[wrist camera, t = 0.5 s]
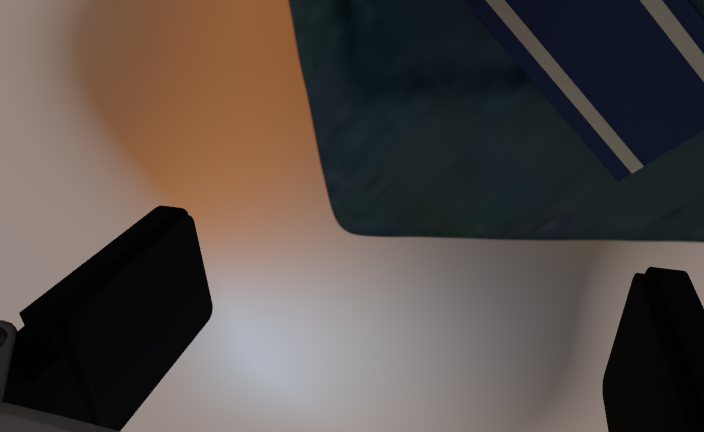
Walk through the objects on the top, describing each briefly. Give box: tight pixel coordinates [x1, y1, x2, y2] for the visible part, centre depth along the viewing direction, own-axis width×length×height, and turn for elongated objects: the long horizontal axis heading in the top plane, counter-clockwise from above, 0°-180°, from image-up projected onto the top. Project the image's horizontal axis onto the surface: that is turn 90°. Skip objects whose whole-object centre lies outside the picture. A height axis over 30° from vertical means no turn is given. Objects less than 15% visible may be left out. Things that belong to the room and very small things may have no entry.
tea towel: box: [464, 0, 704, 181], centre depth 38 cm, size 20×11×1 cm, turn 46°
